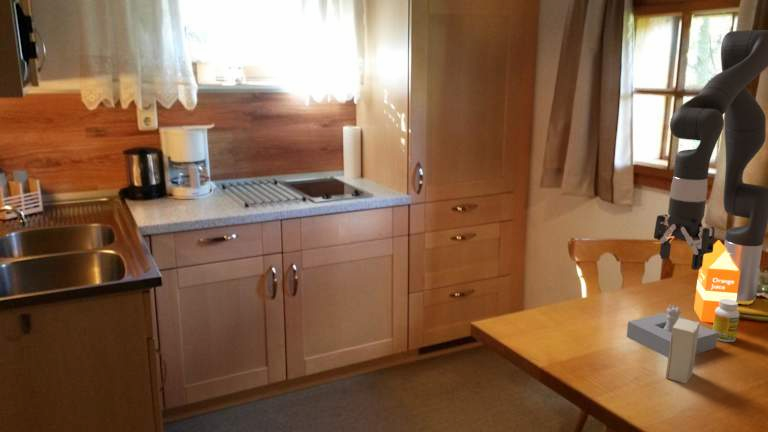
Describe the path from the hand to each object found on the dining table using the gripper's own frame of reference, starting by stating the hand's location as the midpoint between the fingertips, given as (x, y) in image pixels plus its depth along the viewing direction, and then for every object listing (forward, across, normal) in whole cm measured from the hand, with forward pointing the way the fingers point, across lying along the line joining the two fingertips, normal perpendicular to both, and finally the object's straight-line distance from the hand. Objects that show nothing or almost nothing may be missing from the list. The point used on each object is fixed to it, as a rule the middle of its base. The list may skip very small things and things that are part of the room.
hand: (679, 263), depth 148 cm
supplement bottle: (+20, -4, -14) cm, 25 cm away
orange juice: (+20, +6, -23) cm, 31 cm away
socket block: (+20, 0, 0) cm, 20 cm away
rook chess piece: (+19, 0, 0) cm, 19 cm away
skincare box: (+20, -12, +12) cm, 27 cm away
